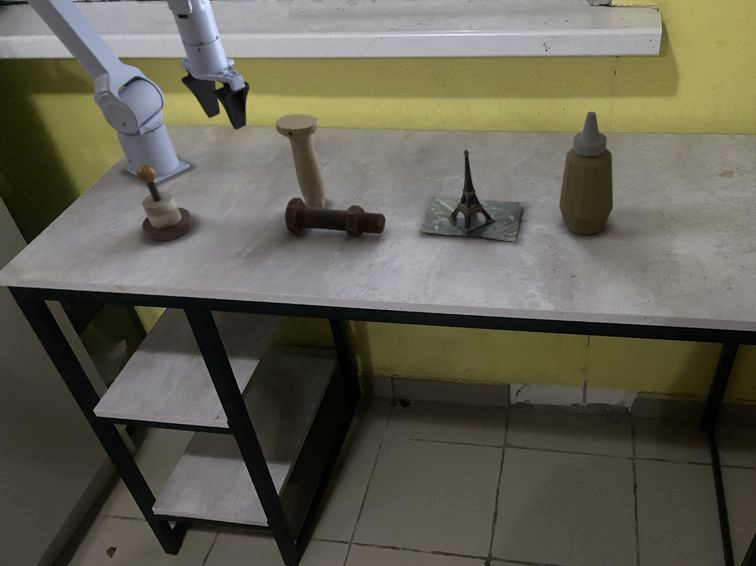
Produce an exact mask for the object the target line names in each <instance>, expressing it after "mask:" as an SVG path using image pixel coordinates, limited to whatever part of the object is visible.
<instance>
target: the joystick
mask: <svg viewBox="0 0 756 566" xmlns="http://www.w3.org/2000/svg"><path fill="white" fill-rule="evenodd" d="M136 177H137V178H138V180H139V181H140V182H142V183H145V184H146V186H147V188H148V191H149V193H150V194H149V195H147V196H145V197H144V198H143V199H142V202H141V205H142V207H143V210H144V211H145V214H146V216H147V217H145V218H144V220H143V221H142V223H141V227H142V228H141V229H142V230H143V232H144V234H145V237H146V238H147V239H148V240H149V241H152V242H157V243H160V242H161V243H162V242H169V241H174V240H177V239H180V238H181V237H183V236H185V235H186V234H188V233H189V232H190V231H191V230H192V229H193V226H194V219H193V218H192V215H191V212H190V211H189V210H188V209H186V208H184V207H179V206H178V204H177V202H176V199H175V197H174V195H173V193H172V192H170V191H159V190H158V186H157V185H156V184H157V183H156V184H155V182H154V180H155V179H156V170H155V169H154V168H153V167H152V166H151V165H148V164H143V165H141V166H139V167H138V169H137V176H136Z"/></svg>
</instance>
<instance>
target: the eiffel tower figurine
mask: <svg viewBox="0 0 756 566" xmlns="http://www.w3.org/2000/svg"><path fill="white" fill-rule="evenodd" d="M464 144H465V146H467V143H464ZM463 155H464V181H463V189H462V195H461V198H436V197H435V198H433V200H432V202H431V204H430V207H429V209H428V212H427V214H426V215H425V218H424V220H423V223H422V225H421V227H420V229H419V232H424V233H430V234H435V235H436V234H437V235H444V236H445V235H446V236H464V237H477V238H486V239H493V240H501V241H508V242H516V240H517V235H518V230H519V226H520V220H521V213H522V207H523V205H524V204H523V202H520V201H519V202H518V201H496V200H483V199H479V198H478V195H477V193H476V189H475V187H474V184H473V179H472V171H471V165H470V158H469V157H470V156H469V155H470V152H469V151H468V149H464V150H463Z"/></svg>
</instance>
